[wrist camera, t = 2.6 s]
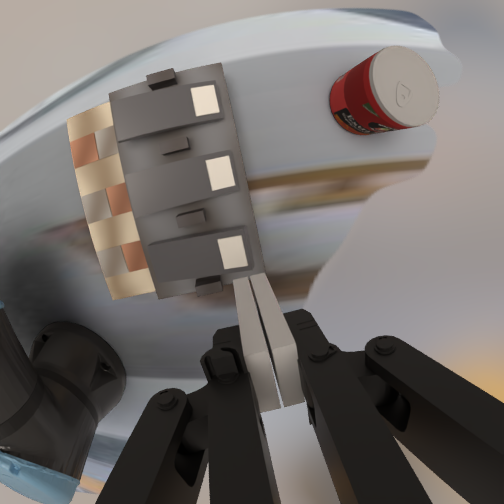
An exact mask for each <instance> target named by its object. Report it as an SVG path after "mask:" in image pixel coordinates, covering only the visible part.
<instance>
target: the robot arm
mask: <svg viewBox="0 0 504 504" xmlns="http://www.w3.org/2000/svg"><path fill="white" fill-rule="evenodd" d="M250 278H251V283H252V287H253V292H254V296H255V301H256V305H257V309H256V306H255V302H254V298H253V295H252V291H251V287H250V284H249V280H248V277H244V278H239V279H235V280H233V284H234V292H235V299H236V306H237V314H238V321H239V325H237V326H232V327H227V328H223V329H218V330H217V331H216V333H215V334H214V336H213V348H212V349H210V350H209V351H207V352H206V353H205V354H204V355H203V356H202V358H201V360H200V362H201V365H202V368H203V370H204V373H205V375H206V378H207V381H208V384H207V385H205V386H204V387H203V388H201V389H199V390H197V391H195V392H192V393H190V394H187V395H186V394H185V392H184V391H182V390H181V389H176V388H170V389H165V390H162V391H159V392H158V393H156V394H155V395H153V397H152V398H151V399H150V400H149V402H148V404H147V406H146V407H145V409H144V411H143V413H142V415H141V417H140V419H139V421H138V422H137V424H136V426H135V428H134V430H133V432H132V434H131V436H130V437H129V439H128V441H127V443H126V445H125V447H124V449H123V451H122V453H121V454H120V456H119V458H118V460H117V462H116V464H115V466H114V468H113V470H112V472H111V474H110V475H109V477H108V479H107V481H106V483H105V485H104V487H103V489H102V491H101V493H100V495H99V497H98V499H97V501H96V503H95V504H196V503H197V499H198V496H199V492H200V489H201V485H202V482H203V478H204V475H205V471H206V467H207V464H208V461H209V489H210V504H281V501H280V497H279V492H278V488H277V484H276V479H275V475H274V470H273V466H272V461H271V457H270V452H269V448H268V443H267V438H266V434H265V429H264V424H263V421H262V417H261V414H260V413H262V412H266V411H271V410H275V409H279V408H281V406H280V402H279V397H278V393H277V389H276V384H275V379H274V375H273V371H272V366H271V362H272V365H273V369H274V373H275V376H276V380H277V383H278V387H279V390H280V394H281V397H282V401H283V404H284V407H287V406H291V405H295V404H299V403H302V402H305V399H306V402H307V408H308V416H309V423H310V425H311V424H312V425H313V428H314V430H315V433H316V436H317V439H318V442H319V444H320V447H321V450H322V453H323V456H324V458H325V461H326V464H327V467H328V469H329V472H330V475H331V478H332V481H333V484H334V487H335V489H336V492H337V495H338V498H339V501H340V503H341V504H432V502H431V500H430V499H429V497H428V495H427V493H426V491H425V490H424V488H423V486H422V484H421V483H420V481H419V479H418V477H417V476H416V474H415V472H414V471H413V469H412V467H411V466H410V464H409V462H408V460H407V459H406V457H405V455H404V454H403V452H402V450H401V448H400V447H399V445H398V443H397V442H396V440H395V438H396V439H397V440H399V441H400V442H401V443H402V444H403V445H404V446H405V447H406V448H407V449H408V450H409V451H410V452H412V453H413V454H414V455H415V456H416V457H417V458H418V459H419V460H420V461H422V462H423V463H424V464H425V465H426V466H427V467H428V468H429V469H431V470H432V471H433V472H434V473H435V474H436V475H437V476H438V477H440V478H441V479H442V480H443V481H444V482H445V483H446V484H448V485H449V486H450V487H451V488H452V489H453V490H454V491H456V492H457V493H458V494H459V495H460V496H462V497H463V498H464V499H465V500H466V501H467V502H469V503H470V504H504V403H502V402H501V401H499V400H498V399H496V398H494V397H493V396H491V395H490V394H488V393H487V392H485V391H483V390H482V389H480V388H478V387H477V386H475V385H474V384H472V383H470V382H469V381H467V380H466V379H464V378H462V377H461V376H459V375H457V374H456V373H454V372H453V371H451V370H449V369H448V368H446V367H444V366H443V365H441V364H440V363H438V362H436V361H435V360H433V359H432V358H430V357H428V356H427V355H425V354H423V353H422V352H420V351H418V350H417V349H415V348H414V347H412V346H410V345H409V344H407V343H406V342H404V341H402V340H400V339H399V338H396V337H394V336H378V337H376V338H373V339H371V340H370V341H369V342H368V343H367V344H366V346H365V351H356V352H344V351H341V350H340V349H339V348H338V347H337V346H336V345H334V344H331V343H329V342H328V340H327V339H326V337H325V336H324V334H323V332H322V331H321V329H320V327H319V326H318V324H317V323H316V321H315V320H314V318H313V316H312V315H311V313H310V312H308V311H306V310H304V309H299V310H296V311H292V312H288V313H284V314H283V313H282V311H281V309H280V306H279V304H278V302H277V300H276V297H275V295H274V293H273V290H272V288H271V286H270V284H269V281H268V279H267V277H266V275H265V273H261V274H257V275H252V276H250ZM3 307H4V303H3V302H2V301H1V300H0V482H1V483H3V484H4V485H6V486H7V487H9V488H10V489H12V490H14V491H16V492H18V493H19V494H21V495H23V496H26V497H28V498H30V499H32V500H35V501H37V502H40V503H43V504H69V503H70V502H71V501H72V498H73V496H74V493H75V490H76V488H77V486H78V485H79V484H80V479H81V476H82V472H83V469H84V465H85V462H86V459H87V456H88V452H89V449H90V446H91V443H92V440H93V437H94V434H95V431H96V428H97V425H98V423H99V422H100V421H101V420H102V419H103V418H104V417H105V416H106V415H107V414H108V413H109V412H110V411H111V410H112V409H113V408H114V407H115V406H116V405H117V404H118V402H119V401H120V399H121V397H122V394H123V391H124V389H125V385H126V376H125V371H124V368H123V365H122V363H121V361H120V359H119V357H118V356H117V354H116V353H115V352H114V350H113V349H112V348H111V347H110V346H109V345H108V344H107V343H106V342H105V341H104V340H103V339H102V338H101V337H99V336H98V335H97V334H95V333H94V332H92V331H90V330H89V329H87V328H85V327H83V326H80V325H77V324H74V323H70V322H56V323H52V324H50V325H48V326H46V327H45V328H44V329H43V330H42V331H41V332H40V333H39V334H38V336H37V337H36V338H35V340H34V342H33V345H32V348H31V352H30V355H29V358H28V356H27V354H26V353H25V351H24V349H23V347H22V345H21V344H20V342H19V340H18V338H17V336H16V334H15V332H14V330H13V328H12V326H11V324H10V322H9V320H8V317H7V315H6V313H5V311H4V308H3ZM257 310H258V313H257ZM258 314H259V317H258ZM259 318H260V320H259ZM260 323H261V324H260ZM261 326H262V327H261ZM262 330H263V331H262ZM263 333H264V335H263ZM264 337H265V338H264ZM265 341H266V342H265ZM266 344H267V345H266ZM267 348H268V349H267ZM268 351H269V353H268ZM269 355H270V357H269ZM270 358H271V362H270ZM304 397H305V399H304ZM393 436H394V437H395V438H394V437H393Z"/></svg>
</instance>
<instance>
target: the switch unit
mask: <svg viewBox="0 0 504 504" xmlns="http://www.w3.org/2000/svg"><path fill="white" fill-rule="evenodd" d="M146 77H147V81H144V82H141V83H138V84H135V85H132V86H129V87H126V88H123V89H120V90H117V91H114V92H112V93H109V100H110V102H108V103H105V104H102V105H100V106H97V107H95V108H92V109H90V110H87V111H85V112H83V113H80V114H78V115H76V116H73V117H71V118H69V119H67V127H68V133H69V140H70V146H71V152H72V157H73V163H74V168H75V173H76V177H77V182H78V187H79V191H80V195H81V199H82V203H83V207H84V211H85V215H86V219H87V223H88V226H89V230H90V233H91V237H92V240H93V243H94V247H95V250H96V253H97V256H98V259H99V262H100V265H101V268H102V271H103V274H104V277H105V280H106V283H107V286H108V288H109V291H110V294H111V296H112V299H113V300H116V299H121V298H126V297H131V296H135V295H140V294H145V293H149V292H154V291H156V293H157V296H158V299H164V298H168V297H173V296H178V295H182V294H187V293H191V292H196V293H197V296H198V297H199V296H203V295H208V294H213V293H217V292H222V291H223V285H227V284H232V283H233V280H235V279H239V278H244V277H248V280H249V279H251V278H250V276H252V275H257V274H261V273H265V275H266V271H265V266H264V261H263V256H262V251H261V247H260V242H259V237H258V232H257V227H256V222H255V217H254V213H253V208H252V203H251V198H250V193H249V189H248V184H247V179H246V174H245V170H244V165H243V160H242V156H241V151H240V146H239V142H238V137H237V132H236V128H235V123H234V118H233V114H232V109H231V104H230V100H229V95H228V91H227V86H226V82H225V77H224V73H223V68H222V64H221V63H216V64H211V65H206V66H201V67H197V68H192V69H188V70H184V71H180V72H176V73H175V72H174V69H173V68H171V69H167V70H164V71H160V72H157V73H153V74H150V75H147V76H146ZM212 80H216V85H217V89H218V94H219V99H220V103H221V108H222V113H223V117H224V118H222V119H221V120H220V121H214V122H208V123H203V124H198V125H193V126H188V127H183V128H178V129H174V130H169V131H165V132H161V133H157V134H153V135H149V136H145V137H141V138H137V139H133V140H130V141H126V142H123V143H119V142H118V138H117V132H116V127H115V121H114V115H113V109H112V102H111V101H115V100H118V99H122V98H126V97H129V96H133V95H137V94H142V93H146V92H150V91H155V90H160V89H164V88H170V87H175V86H180V85H186V84H192V83H198V82H205V81H212ZM225 150H231V155H232V160H233V164H234V169H235V174H236V178H237V183H238V188H239V190H238V191H234V192H230V193H225V194H221V195H217V196H213V197H210V198H206V199H202V200H198V201H194V202H190V203H187V204H183V205H179V206H176V207H172V208H168V209H165V210H161V211H158V212H154V213H151V214H147V215H144V216H141V217H137V218H135V214H134V210H133V206H132V202H131V198H130V194H129V190H128V186H127V181H126V177H125V175H127V174H131V173H134V172H138V171H141V170H145V169H149V168H152V167H156V166H160V165H164V164H168V163H172V162H176V161H180V160H184V159H188V158H193V157H197V156H202V155H206V154H211V153H215V152H220V151H225ZM243 225H246V227H247V232H248V237H249V241H250V246H251V251H252V255H253V260H254V268H253V270H250V271H243V272H236V273H229V274H221V275H214V276H207V277H200V278H192V279H185V280H177V281H170V282H162V283H158V281H157V278H156V275H155V272H154V269H153V265H152V262H151V259H150V255H149V252H148V249H147V246H148V245H149V244H151V243H152V242H157V241H163V240H168V239H173V238H178V237H183V236H189V235H194V234H199V233H205V232H210V231H215V230H221V229H227V228H232V227H238V226H243Z"/></svg>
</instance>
